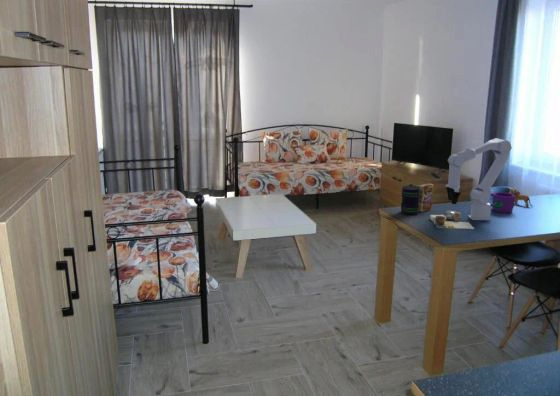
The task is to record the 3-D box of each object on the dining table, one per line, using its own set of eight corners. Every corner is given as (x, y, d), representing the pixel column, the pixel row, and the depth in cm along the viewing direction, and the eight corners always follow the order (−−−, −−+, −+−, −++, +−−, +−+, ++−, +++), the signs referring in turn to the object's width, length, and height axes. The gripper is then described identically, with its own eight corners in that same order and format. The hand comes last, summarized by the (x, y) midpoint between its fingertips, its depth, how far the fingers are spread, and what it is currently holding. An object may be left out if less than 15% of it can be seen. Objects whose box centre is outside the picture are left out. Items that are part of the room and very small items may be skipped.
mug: (517, 212, 267) (519, 194, 264) (506, 215, 261) (508, 197, 258) (489, 205, 281) (490, 189, 278) (477, 208, 274) (479, 191, 272)
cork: (459, 220, 252) (460, 212, 251) (461, 222, 249) (461, 213, 248) (453, 220, 252) (454, 212, 251) (455, 221, 249) (455, 213, 248)
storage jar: (417, 211, 270) (419, 185, 266) (419, 216, 260) (421, 189, 257) (399, 210, 271) (401, 185, 268) (401, 215, 262) (402, 189, 258)
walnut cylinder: (444, 223, 245) (445, 216, 244) (443, 226, 241) (444, 218, 240) (435, 222, 247) (436, 215, 246) (434, 225, 243) (435, 217, 242)
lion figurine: (505, 203, 285) (507, 188, 283) (510, 201, 289) (511, 187, 286) (530, 208, 274) (532, 193, 272) (534, 206, 278) (536, 191, 275)
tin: (455, 216, 259) (456, 210, 258) (457, 220, 253) (458, 213, 252) (444, 216, 260) (444, 210, 259) (446, 219, 254) (446, 213, 253)
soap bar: (442, 219, 255) (443, 214, 255) (445, 221, 251) (446, 217, 250) (429, 219, 255) (430, 215, 255) (432, 221, 251) (432, 217, 250)
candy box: (421, 212, 267) (423, 186, 264) (415, 210, 271) (417, 184, 267) (431, 209, 272) (433, 184, 268) (425, 208, 276) (427, 182, 272)
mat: (468, 222, 248) (468, 221, 248) (474, 229, 237) (474, 227, 237) (433, 221, 250) (433, 220, 250) (437, 228, 239) (437, 226, 239)
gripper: (443, 174, 255) (441, 198, 258) (449, 179, 241) (447, 205, 244) (456, 174, 254) (454, 198, 257) (464, 180, 240) (461, 205, 243)
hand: (452, 202), depth 250 cm, fingers open, 7 cm apart
